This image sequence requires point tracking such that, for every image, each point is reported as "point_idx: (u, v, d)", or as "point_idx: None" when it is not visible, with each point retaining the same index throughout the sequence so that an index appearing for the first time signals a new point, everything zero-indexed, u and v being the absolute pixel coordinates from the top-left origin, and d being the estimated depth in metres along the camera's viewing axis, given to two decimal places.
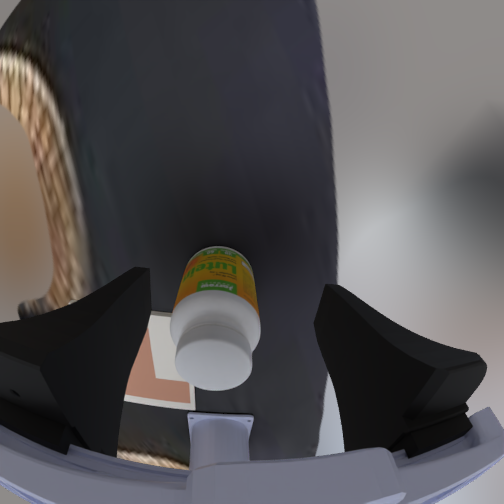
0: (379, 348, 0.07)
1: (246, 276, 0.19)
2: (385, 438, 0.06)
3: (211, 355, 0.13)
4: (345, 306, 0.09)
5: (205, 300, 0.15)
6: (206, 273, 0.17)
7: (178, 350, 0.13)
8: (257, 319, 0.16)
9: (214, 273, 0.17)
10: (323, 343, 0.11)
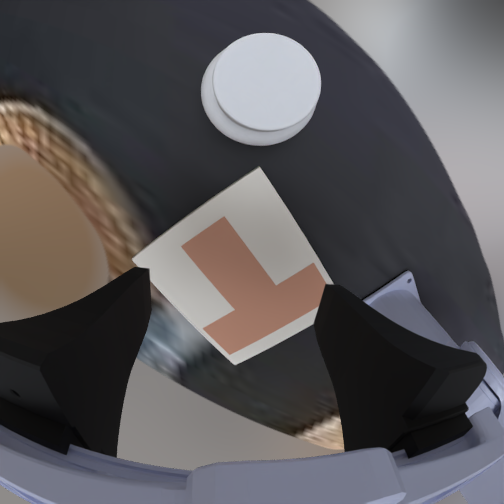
0: (379, 348, 0.07)
1: None
2: (385, 438, 0.06)
3: (250, 60, 0.08)
4: (345, 306, 0.09)
5: (219, 54, 0.10)
6: None
7: (212, 85, 0.09)
8: None
9: None
10: (323, 343, 0.11)
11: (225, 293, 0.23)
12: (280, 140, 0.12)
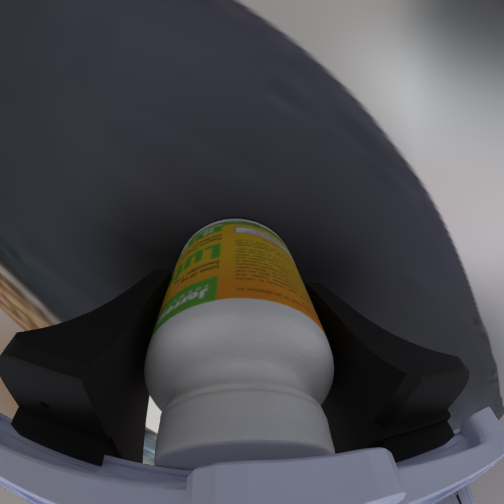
0: (353, 349, 0.07)
1: (245, 246, 0.09)
2: (357, 444, 0.05)
3: None
4: (322, 305, 0.09)
5: (159, 351, 0.06)
6: (170, 290, 0.09)
7: None
8: (292, 320, 0.06)
9: (179, 281, 0.08)
10: None
11: None
12: None
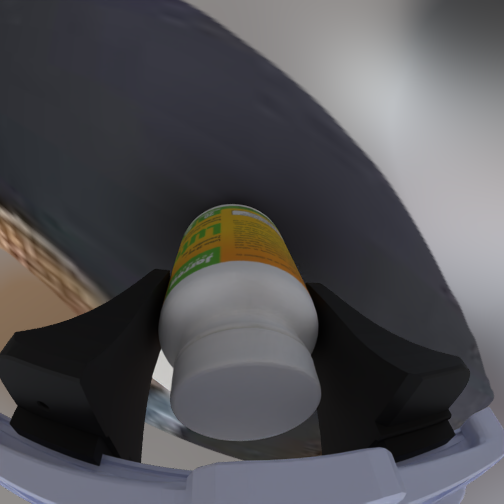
0: (354, 349, 0.07)
1: (241, 224, 0.11)
2: (358, 444, 0.05)
3: (219, 396, 0.06)
4: (323, 305, 0.09)
5: (174, 306, 0.08)
6: (178, 261, 0.10)
7: None
8: (281, 277, 0.08)
9: (187, 254, 0.10)
10: None
11: None
12: None
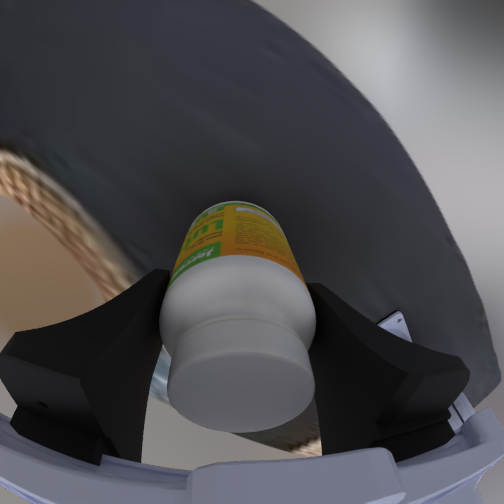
0: (354, 349, 0.07)
1: (243, 221, 0.11)
2: (358, 444, 0.05)
3: (214, 385, 0.06)
4: (323, 305, 0.09)
5: (174, 297, 0.08)
6: (181, 256, 0.11)
7: None
8: (279, 272, 0.08)
9: (189, 248, 0.10)
10: None
11: None
12: None
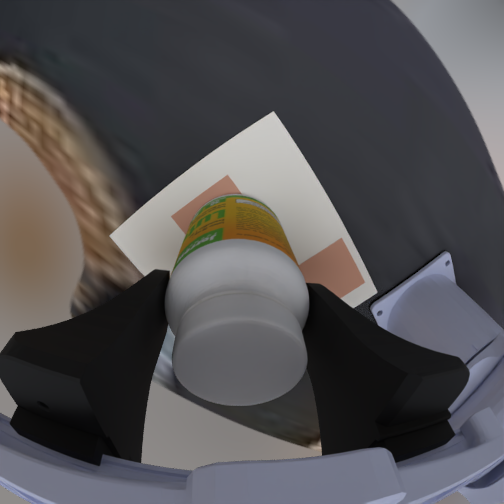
0: (354, 349, 0.07)
1: (243, 211, 0.12)
2: (358, 444, 0.05)
3: (215, 354, 0.07)
4: (323, 305, 0.09)
5: (180, 276, 0.09)
6: (185, 242, 0.11)
7: None
8: (275, 254, 0.09)
9: (193, 234, 0.11)
10: None
11: None
12: None
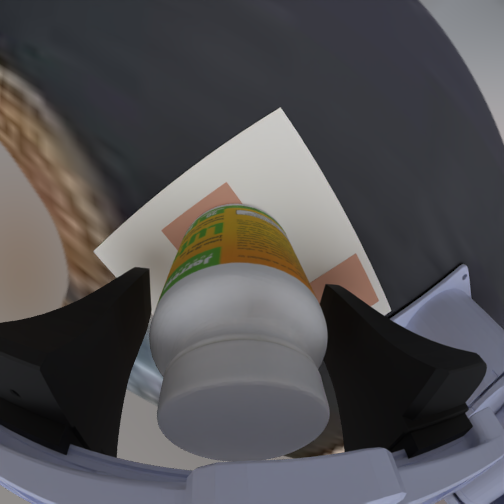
0: (379, 348, 0.07)
1: (245, 225, 0.10)
2: (385, 438, 0.06)
3: (212, 416, 0.05)
4: (344, 306, 0.09)
5: (166, 311, 0.07)
6: (175, 262, 0.09)
7: None
8: (288, 283, 0.07)
9: (184, 254, 0.09)
10: None
11: None
12: None
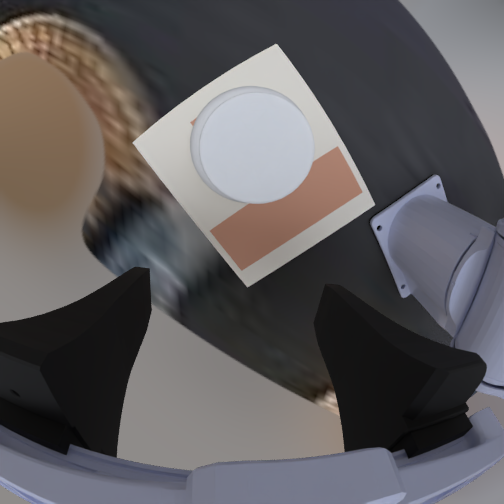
0: (379, 348, 0.07)
1: None
2: (385, 438, 0.06)
3: (238, 126, 0.09)
4: (344, 306, 0.09)
5: (208, 105, 0.10)
6: None
7: (199, 154, 0.09)
8: (282, 94, 0.11)
9: None
10: (323, 343, 0.11)
11: None
12: None
